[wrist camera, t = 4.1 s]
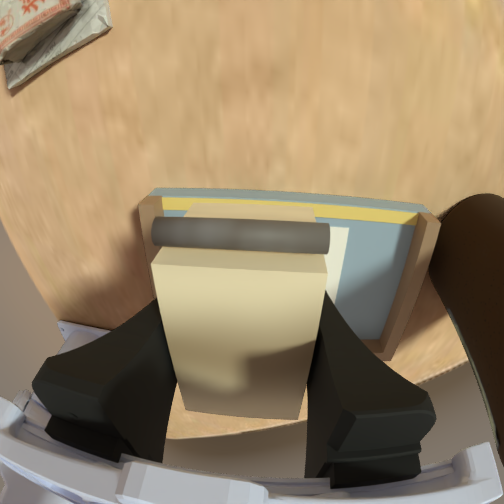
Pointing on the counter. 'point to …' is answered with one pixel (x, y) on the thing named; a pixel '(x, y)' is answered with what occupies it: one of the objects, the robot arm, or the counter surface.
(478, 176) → the counter surface
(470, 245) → the olive oil
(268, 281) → the beige block with rod
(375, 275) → the dock
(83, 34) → the packaged product
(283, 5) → the counter surface
